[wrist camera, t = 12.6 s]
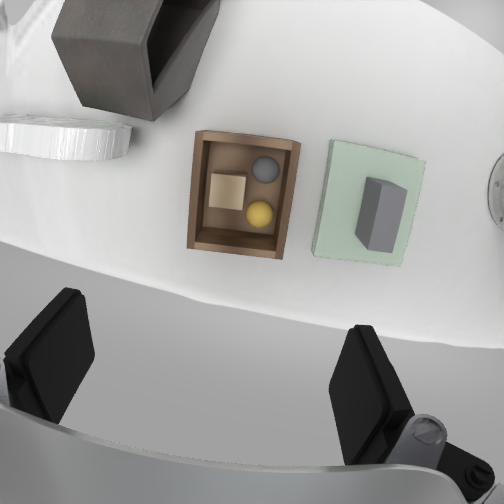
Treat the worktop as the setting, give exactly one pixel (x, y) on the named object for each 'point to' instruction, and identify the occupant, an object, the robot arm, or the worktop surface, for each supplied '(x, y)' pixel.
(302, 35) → the worktop surface
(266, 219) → the ball mustard
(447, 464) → the robot arm
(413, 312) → the worktop surface
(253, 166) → the ball grey
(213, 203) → the beech cube
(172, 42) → the planter
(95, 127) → the cutout
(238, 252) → the wooden box
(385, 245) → the lid
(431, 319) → the worktop surface
